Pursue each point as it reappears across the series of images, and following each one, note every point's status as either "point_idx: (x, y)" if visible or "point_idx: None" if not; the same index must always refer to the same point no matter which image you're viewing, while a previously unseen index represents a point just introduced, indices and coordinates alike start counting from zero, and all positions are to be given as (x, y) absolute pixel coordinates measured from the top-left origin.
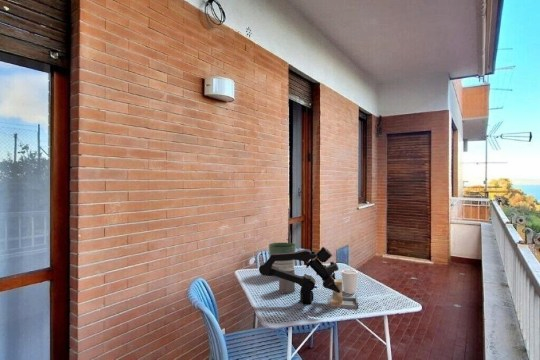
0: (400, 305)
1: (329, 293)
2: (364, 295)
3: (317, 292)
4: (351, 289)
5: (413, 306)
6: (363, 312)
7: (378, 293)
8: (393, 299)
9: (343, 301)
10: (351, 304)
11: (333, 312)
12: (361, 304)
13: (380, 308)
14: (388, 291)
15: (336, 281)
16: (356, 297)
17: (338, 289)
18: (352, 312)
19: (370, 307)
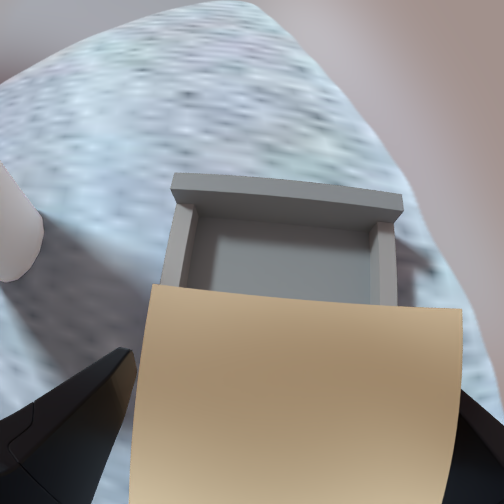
0: (238, 28)
1: (7, 404)
2: (64, 151)
3: None
4: (20, 212)
5: (246, 5)
6: None
7: (60, 90)
8: (154, 41)
9: None
10: (298, 263)
11: None
12: None
13: (299, 93)
14: (54, 62)
15: (397, 492)
16: (253, 185)
17: (473, 401)
18: (422, 276)
19: (293, 137)
